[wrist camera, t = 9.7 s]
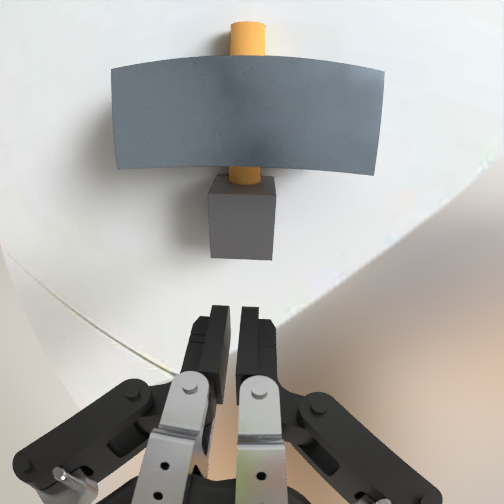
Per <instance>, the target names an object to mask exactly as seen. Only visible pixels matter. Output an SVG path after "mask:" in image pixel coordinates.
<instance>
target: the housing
mask: <svg viewBox="0 0 504 504" xmlns="http://www.w3.org/2000/svg"><path fill="white" fill-rule="evenodd" d="M383 89H384V71H380V70H375V69H371V68H366V67H361V66H355V65H350V64H344V63H338V62H331V61H323V60H315V59H306V58H295V57H282V56H260V55H224V56H202V57H189V58H178V59H169V60H161V61H154V62H147V63H141V64H135V65H129V66H124V67H119V68H114V69H111V90H112V113H113V128H114V140H115V151H116V160H117V169H118V170H121V169H136V168H155V167H187V166H240V167H272V168H292V169H308V170H321V171H333V172H344V173H354V174H363V175H372V176H374V170H375V163H376V156H377V149H378V141H379V133H380V123H381V113H382V102H383Z"/></svg>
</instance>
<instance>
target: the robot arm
mask: <svg viewBox="0 0 504 504" xmlns="http://www.w3.org/2000/svg"><path fill="white" fill-rule="evenodd" d="M258 315H259V307H242V312H241V322H240V333H239V343H238V354H237V365H236V395H237V405H239V425H238V426H239V427H238V442H237V467H236V469H237V470H236V478H235V479H228V480H221V481H212V480H209V479H207V476H208V458H209V451H210V445H211V439H212V433H213V428H214V421H215V412H216V404H223V398H224V388H225V381H226V373H227V364H228V356H229V348H230V337H231V328H230V307H229V306H221V305H212V309H211V313H210V317H206V316H200V317H199V318H198V319H197V320H196V321H195V322H194V324H193V326H192V330H191V335H190V338H189V343H188V345H187V349H186V353H185V357H184V361H183V365H182V369H181V372H180V374H178V375H177V376H176V377H175V378H174V379H173V381H171V382H169V383H166V384H162V385H155V386H148V385H147V383H145V382H144V381H142V380H140V379H128V380H125V381H124V382H122V383H120V384H119V385H118V386H116V387H115V388H113V389H112V390H110V391H109V392H108V393H106V394H105V395H103V396H102V397H100V398H99V399H97V400H96V401H94V402H93V403H92V404H90V405H89V406H87V407H86V408H84V409H83V410H81V411H80V412H78V413H77V414H75V415H74V416H73V417H71V418H69V419H68V420H66V421H65V422H64V423H62V424H60V425H59V426H57V427H56V428H54V429H53V430H51V431H50V432H48V433H47V434H45V435H44V436H42V437H41V438H39V439H37V440H36V441H35V442H33V443H31V444H30V445H28V446H27V447H25V448H23V449H22V450H20V451H19V452H18V453H17V454H16V455H15V456H14V459H13V470H14V473H15V474H16V476H17V477H18V478H19V479H20V480H22V481H23V482H25V483H27V484H29V485H30V486H32V487H33V488H34V489H35V490H36V491H37V493H38V495H39V496H40V498H41V499H42V501H43V503H44V504H91V502H92V501H93V500H94V499H95V498H96V497H97V495H98V485H97V483H98V482H100V481H101V480H103V479H104V478H105V477H107V476H108V475H110V474H111V473H112V472H114V471H115V470H117V469H118V468H119V467H121V466H122V465H123V464H125V463H126V462H127V461H129V460H130V459H131V458H133V457H134V456H135V455H137V454H138V453H139V452H141V451H142V450H143V449H144V448H146V451H145V454H144V458H143V462H142V465H141V469H140V472H139V476H136V477H134V478H132V479H131V480H129V481H128V482H126V483H125V484H124V485H122V486H121V487H119V488H118V489H117V490H115V491H114V492H112V493H111V494H110V495H108V496H107V497H105V498H104V499H103V500H101V501H99V502H98V503H96V504H311V503H310V502H309V501H308V500H307V499H306V498H305V497H304V496H303V495H301V494H300V493H299V492H297V491H296V490H294V489H292V488H290V487H288V486H287V478H286V459H285V445H284V441H286V442H290V443H291V444H292V446H293V447H294V448H295V449H296V450H297V451H298V452H299V453H300V454H301V455H302V456H303V458H304V459H305V460H306V461H307V462H308V463H309V464H310V465H311V466H312V467H313V468H314V469H315V470H316V471H317V472H318V473H319V474H320V475H321V476H322V477H323V478H324V479H325V480H326V481H327V482H328V483H329V484H330V485H331V486H332V487H333V488H334V489H335V490H336V491H337V492H338V493H339V494H340V495H341V496H342V497H343V498H344V499H346V500H347V502H349V503H350V504H442V495H441V493H440V491H439V490H438V489H437V488H436V487H434V486H433V485H432V484H431V483H430V482H428V481H427V480H426V479H425V478H423V477H422V476H421V475H420V474H419V473H417V472H416V471H415V470H414V469H412V468H411V467H410V466H409V465H408V464H407V463H405V462H404V461H403V460H402V459H401V458H399V457H398V456H397V455H396V454H395V453H394V452H393V451H391V450H390V449H389V448H388V447H387V446H386V445H385V444H383V443H382V442H381V441H380V440H379V439H378V438H376V437H375V436H374V435H373V434H372V433H371V432H370V431H369V430H368V429H367V428H365V427H364V426H363V425H362V424H361V423H360V422H359V421H358V420H357V419H355V418H354V417H353V416H352V415H351V414H350V413H349V412H348V411H347V410H346V409H345V408H344V407H342V406H341V405H340V404H339V403H338V402H337V401H336V400H335V399H334V398H333V397H332V396H330V395H328V394H326V393H323V392H314V393H310V394H308V395H306V396H301V395H298V394H294V393H291V392H289V391H287V390H286V389H284V388H283V387H282V386H281V385H280V383H279V382H278V379H277V355H276V328H275V326H274V325H273V323H272V321H271V319H258Z"/></svg>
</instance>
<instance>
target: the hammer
mask: <svg viewBox="0 0 504 504" xmlns="http://www.w3.org/2000/svg"><path fill="white" fill-rule="evenodd" d="M265 27H266V26H265V25H264V24H262V23H258V22H237V23H233V24H231V40H230V55H260V56H265ZM275 208H276V190H275V182H274V177H271V176H261V167H240V166H229V175H217V177H216V179H215V181H214V183H213V185H212V187H211V189H210V191H209V193H208V210H209V232H210V251H211V258H224V259H250V260H272V253H273V239H274V224H275Z"/></svg>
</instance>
